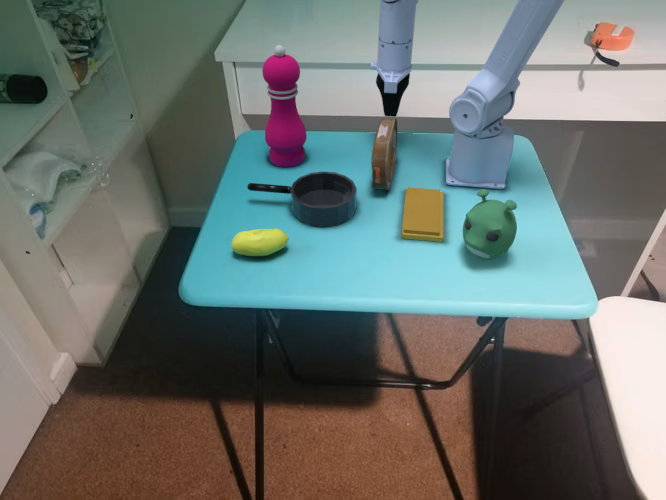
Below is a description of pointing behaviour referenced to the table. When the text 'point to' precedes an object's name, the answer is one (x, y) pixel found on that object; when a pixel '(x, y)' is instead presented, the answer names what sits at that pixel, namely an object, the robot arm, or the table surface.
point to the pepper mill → (283, 110)
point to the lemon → (259, 242)
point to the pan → (323, 199)
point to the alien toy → (490, 227)
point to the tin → (384, 154)
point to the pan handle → (269, 188)
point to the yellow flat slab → (423, 215)
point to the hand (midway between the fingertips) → (390, 114)
